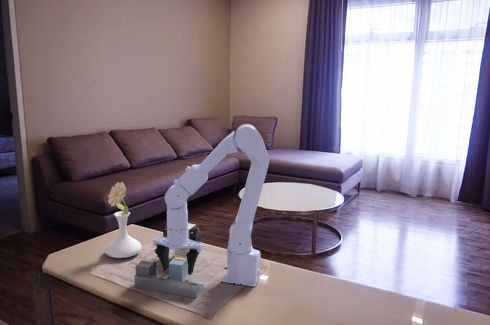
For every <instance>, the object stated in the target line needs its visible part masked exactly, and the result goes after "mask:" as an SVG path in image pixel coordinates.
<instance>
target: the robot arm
mask: <svg viewBox="0 0 490 325" xmlns="http://www.w3.org/2000/svg"><path fill="white" fill-rule="evenodd" d="M239 150H241V151H242V152H243V153H245V154H246V156H247V157H248V159H249V160H250V168H249V170H248V171H249V172H248V175H247V179H246V182H245V186H244V190H243V194H242V196H241V201H240V204H239V208H238V212H237V215H236V217H235V219H234V222H233V223H232V224H231V225H230V227H229V229H228V230H229V238H228V243H227V244H228V245H227V247H226V249H227V252H226V254H227V255H226V264H227V265H226V273H225V276H224V277H223V278H222V282H223V283H226V282H227V284H233V283H235V284H234V285H240V284H242V285H241V286H247V287H253V288H254V287H256V285H257V283H258V280H259V278H260V276H261V257H262V255H261V250H258V249H255V248H253V245H252V238H251V236H252V231H253V224H254V219H255V216H256V213H257V212H256V211H257V208H258V205H259V200H260V197H261V194H262V190H263V187H264V183H265V180H266V176H267V173H268V168H269V165H270V162H271V160H270V159H271V158H270V155H269V153H268V150H267V148H266V144H265V141H264V138H263V137H262V135H261V133H260V132H259V130H258V129H257V128H256V127H255V126H254V125H252V124H250V123H243V124H241V125H239V126H238V127H237V129H236V130H233V131H232V132H230V133H229V134H228V135H227V136H226V137H225V138H223V139H222V141H220V142H219V143H218V145H217V146H216V147H215V148H214V149H213V150H212V151H211V152H210V153H209V154H208V155H207V156H206V158H204V159H203V161H202V162H200V164H192V165H191V166H189V165H188V166H187V167H186V168H185V170H184V171H185V172H184V173H183V174H182V175H181V176H180V177H179V178H178V179H174V181H173V184H172V185H171V186H170V187H169V188H168V189H167V191H166V192H165V194H164V202H165V204H166V209H167V210H166V226H167V238H164V237H155V238H153V240H152V246H153V247H156V248H155V249H154V253H155V254H156V255H157V257H158V259H159V262H160V264H161V268H162V271H163V272H166V271H168V270H169V263H170V250H173V251H174V250H175V249H187V250H190V251H189V252H188V253H187V254H186V257H187V258H186V259H187V262H188V275H187V276H190V275H191V276H192V274H193V273H194V270H195V269H194V268H195V264H196V261H197V259H198V257H199V254H200V253H201V252H202V251H203V250H204V243H203V242H200V243H199V242H196V241H192V240H189V239H188V223H189V222H188V219H189V218H188V216H189V215H188V214H189V211H188V202H187V200H188V199H189V197H191V196H193V195H194V194H195V193H196V192H197V191H198V190H199V189H200V188H201V187H202V186H203V185H204V184H206V182H207V181H208V179H209V173H210V171H211V170H212V169H214V167H216V165H217V164H219V163H220V162H221V161H222V160H223V159H224V158H226V157H227V155H229V154H235V153H236V154H237V153H238V152H239Z"/></svg>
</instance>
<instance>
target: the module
mask: <svg viewBox="0 0 490 325" xmlns="http://www.w3.org/2000/svg"><path fill="white" fill-rule="evenodd" d="M188 276H189V275H188V262H187V258H178V257H175V256H174V258H172V260H171V261H169V268H168V279H171V280H177V281H185V279H186V278H187V277H188ZM185 277H186V278H185ZM184 278H185V279H184Z"/></svg>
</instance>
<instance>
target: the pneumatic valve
mask: <svg viewBox="0 0 490 325" xmlns="http://www.w3.org/2000/svg"><path fill="white" fill-rule="evenodd" d="M162 236H163V237H162V238H167V225H165V227H164V228H163V231H162ZM202 238H203V234H202V231H201V230H200V229H199V224H194V223H190V222H188V239H189V240H192V241H196V242H199V243H201V241H202ZM189 251H190V250H187V249H175V250H173V254H174V255H175V256H174V258H175V257H178V258H186V254H187V253H188V252H189ZM186 259H187V258H186Z"/></svg>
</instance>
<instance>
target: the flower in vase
mask: <svg viewBox="0 0 490 325" xmlns="http://www.w3.org/2000/svg"><path fill="white" fill-rule="evenodd" d="M126 191H127V187H126V185H125V184H124V182H123V181H121V182H119V181H118V182H116V183H115V184H114V185H113V186H111V190H110V192H109V194H108V200H107V201H108V204H109V205H110V207H115V206H116V208H118V209H119V210H121V211H116V212H114V213H113V215H114V216H113V217H115V218H116V220H117V223H118V228H119V230H118V232H119V233H118V236H117V237H116V238H115V239H113V240H112V241H111V242H110V243H109V244H108V245H107V246H106V248H105V251H104V252H105V254H106V255H107V256H108V257H109V258H110V257H111V258H115V259H123V258H129V257H133V256H135V255H137V254H139V253H140V252H141V250H142V248H143V246H142V244H141V242H140V241H139V240H138V239H135V238H133V237H132V236H130V235H129V234H128V230H127V224H128V219H129V216H130V214H131V212H130V211H129V206H128V205H126V202H125V200H124V198H125V196H126ZM121 202H123V204H121Z"/></svg>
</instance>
